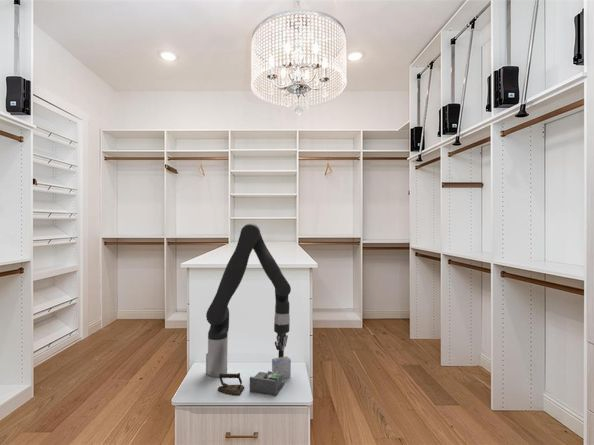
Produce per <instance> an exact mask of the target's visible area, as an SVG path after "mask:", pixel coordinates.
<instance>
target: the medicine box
mask: <svg viewBox="0 0 594 445" xmlns="http://www.w3.org/2000/svg"><path fill="white" fill-rule="evenodd" d="M291 363H292V360H291V358H290V357H288V356H284V357H280V358H279V357H275V358H272V359H271V371H273V372H277V373H283V374H282V380H284V379H289V378H291V371H292V370H291V368H292V367H291V366H292V365H291Z"/></svg>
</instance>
